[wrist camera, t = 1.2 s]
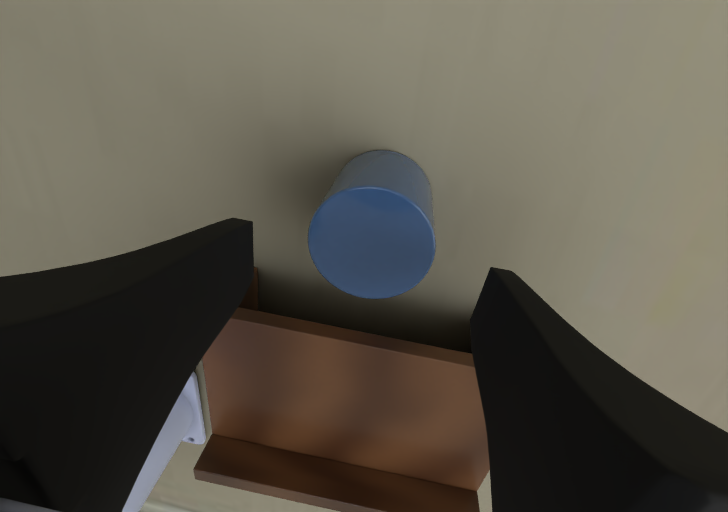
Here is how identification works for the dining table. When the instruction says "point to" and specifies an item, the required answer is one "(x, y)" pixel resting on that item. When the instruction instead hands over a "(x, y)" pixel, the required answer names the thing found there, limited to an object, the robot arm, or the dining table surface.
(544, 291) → the dining table surface
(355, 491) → the shelf
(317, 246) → the blue cup
